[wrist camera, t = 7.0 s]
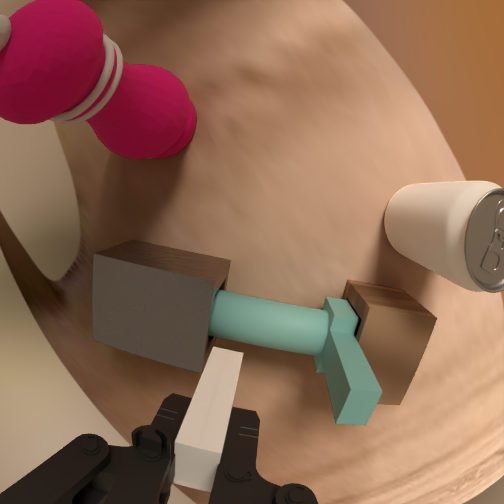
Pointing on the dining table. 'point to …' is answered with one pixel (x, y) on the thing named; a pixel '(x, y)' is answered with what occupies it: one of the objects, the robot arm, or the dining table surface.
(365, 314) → the socket
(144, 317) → the gray block
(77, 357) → the dining table surface
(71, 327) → the dining table surface
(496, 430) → the dining table surface
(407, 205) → the can
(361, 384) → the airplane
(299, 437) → the dining table surface
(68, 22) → the pepper mill
